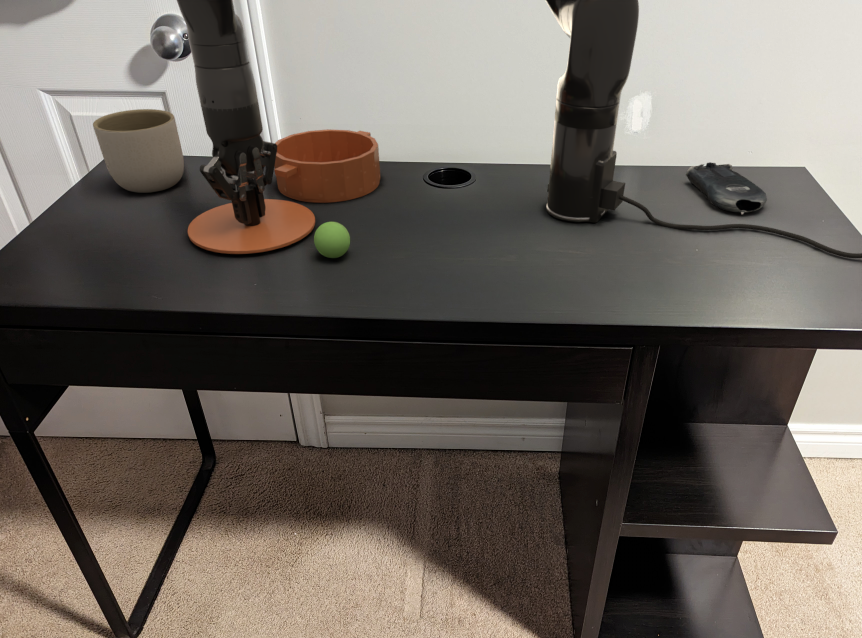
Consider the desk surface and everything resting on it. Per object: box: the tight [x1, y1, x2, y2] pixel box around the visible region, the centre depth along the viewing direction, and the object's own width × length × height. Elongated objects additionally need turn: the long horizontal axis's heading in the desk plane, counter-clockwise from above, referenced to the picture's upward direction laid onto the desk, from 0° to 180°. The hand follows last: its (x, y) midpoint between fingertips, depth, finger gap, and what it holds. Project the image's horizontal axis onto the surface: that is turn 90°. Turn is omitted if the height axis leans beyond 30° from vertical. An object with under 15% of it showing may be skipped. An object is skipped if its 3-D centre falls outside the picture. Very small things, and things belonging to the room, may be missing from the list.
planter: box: [92, 108, 185, 194], centre depth 115 cm, size 12×12×11 cm
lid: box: [187, 185, 316, 255], centre depth 102 cm, size 19×19×7 cm
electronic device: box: [685, 162, 768, 215], centre depth 114 cm, size 9×6×15 cm
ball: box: [313, 221, 351, 259], centre depth 95 cm, size 5×5×5 cm
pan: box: [274, 128, 381, 204], centre depth 117 cm, size 18×23×6 cm
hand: (251, 218), depth 103 cm, fingers closed on lid, 2 cm apart
